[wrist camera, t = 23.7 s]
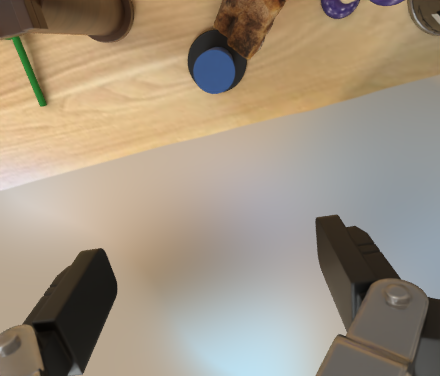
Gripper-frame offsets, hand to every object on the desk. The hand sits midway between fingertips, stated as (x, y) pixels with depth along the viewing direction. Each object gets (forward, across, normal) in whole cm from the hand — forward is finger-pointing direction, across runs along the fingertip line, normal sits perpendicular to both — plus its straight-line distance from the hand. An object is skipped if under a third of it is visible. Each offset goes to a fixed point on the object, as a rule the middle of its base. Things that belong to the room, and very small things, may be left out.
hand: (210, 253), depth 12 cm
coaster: (+32, 0, -5) cm, 32 cm away
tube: (+26, 0, -5) cm, 26 cm away
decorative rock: (+32, -6, -11) cm, 34 cm away
